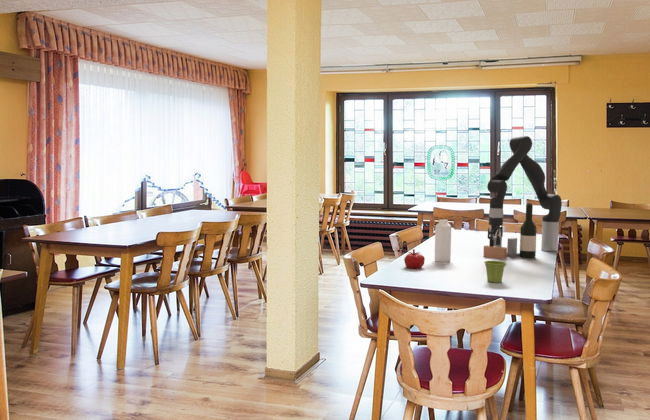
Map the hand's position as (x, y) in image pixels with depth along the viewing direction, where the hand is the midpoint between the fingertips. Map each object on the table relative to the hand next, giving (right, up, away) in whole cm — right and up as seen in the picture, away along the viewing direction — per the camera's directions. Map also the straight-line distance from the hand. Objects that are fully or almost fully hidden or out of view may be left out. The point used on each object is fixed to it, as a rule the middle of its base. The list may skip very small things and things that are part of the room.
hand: (494, 245), depth 348 cm
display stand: (+7, -6, +8) cm, 12 cm away
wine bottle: (+18, -7, 0) cm, 19 cm away
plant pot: (-18, -12, -66) cm, 69 cm away
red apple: (-49, -9, -33) cm, 60 cm away
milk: (-31, -8, -13) cm, 34 cm away
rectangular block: (0, -7, +1) cm, 7 cm away
